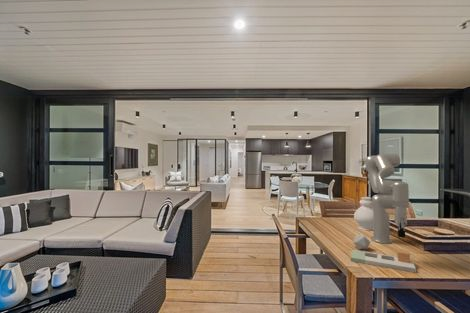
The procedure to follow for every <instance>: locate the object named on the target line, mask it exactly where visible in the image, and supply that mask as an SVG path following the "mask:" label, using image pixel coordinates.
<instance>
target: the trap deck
mask: <svg viewBox="0 0 470 313" xmlns="http://www.w3.org/2000/svg"><path fill="white" fill-rule="evenodd" d="M350 252H351V253H350V262H354V263H358V264H359V263H360V264H366V265H371V266H376V267H382V268H387V269H392V270H393V269H394V270H399V271H404V272H409V273H410V272H411V273H417V269H416V266H415V264H414V262H413V259H412V258H410V263H407V262H401V261H398V259H397V256H394V255H388V254H381V253H375V252H369V251H363V250H356V249H351V251H350Z"/></svg>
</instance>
